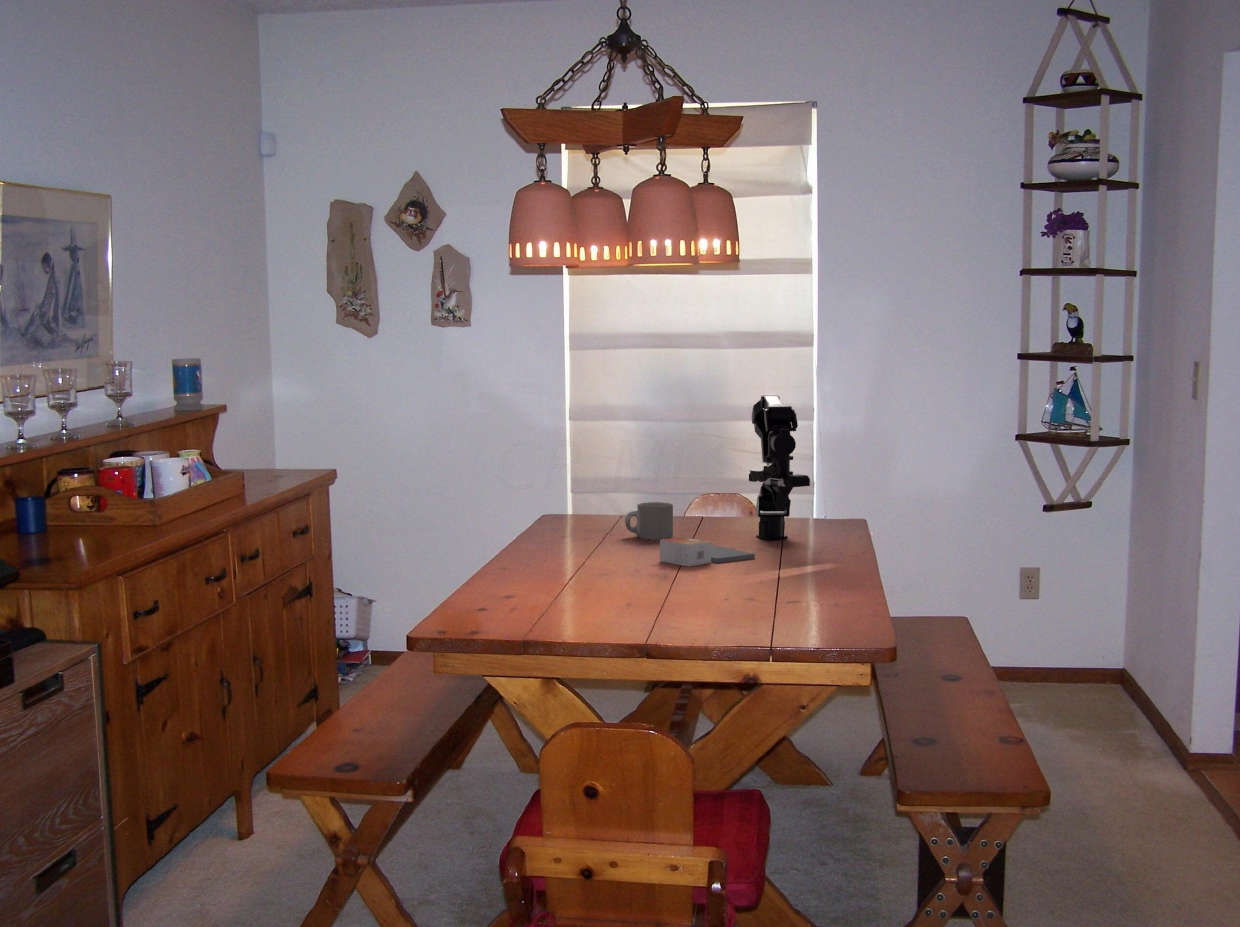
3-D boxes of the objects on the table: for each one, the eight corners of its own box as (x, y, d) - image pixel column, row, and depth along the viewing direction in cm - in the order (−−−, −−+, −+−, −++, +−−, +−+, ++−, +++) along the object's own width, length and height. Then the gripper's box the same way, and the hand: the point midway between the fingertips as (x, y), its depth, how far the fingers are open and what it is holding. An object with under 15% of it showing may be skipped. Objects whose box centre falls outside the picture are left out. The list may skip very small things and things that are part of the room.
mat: (711, 549, 309) (711, 544, 309) (754, 558, 294) (754, 553, 294) (674, 553, 303) (674, 548, 302) (717, 563, 288) (717, 558, 287)
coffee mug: (672, 537, 331) (672, 502, 330) (673, 542, 321) (673, 506, 320) (625, 537, 331) (625, 502, 330) (624, 542, 321) (624, 506, 320)
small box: (689, 544, 282) (658, 539, 289) (689, 567, 282) (658, 561, 290) (711, 540, 287) (681, 536, 295) (711, 563, 288) (681, 557, 295)
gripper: (733, 451, 311) (732, 509, 313) (778, 456, 295) (778, 517, 297) (765, 449, 317) (764, 506, 319) (811, 454, 301) (811, 513, 303)
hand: (778, 510), depth 309 cm, fingers closed
